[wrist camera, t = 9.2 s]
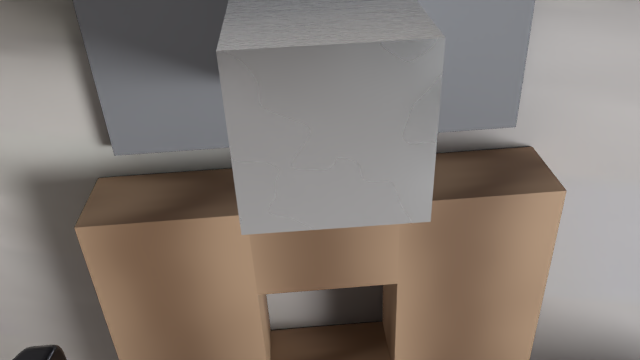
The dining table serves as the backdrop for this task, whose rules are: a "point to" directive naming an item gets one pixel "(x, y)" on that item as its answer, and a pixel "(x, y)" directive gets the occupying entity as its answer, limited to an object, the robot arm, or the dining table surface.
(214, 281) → the walnut socket block
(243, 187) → the steel peg
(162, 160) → the dining table surface
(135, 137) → the grey flat slab
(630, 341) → the dining table surface
